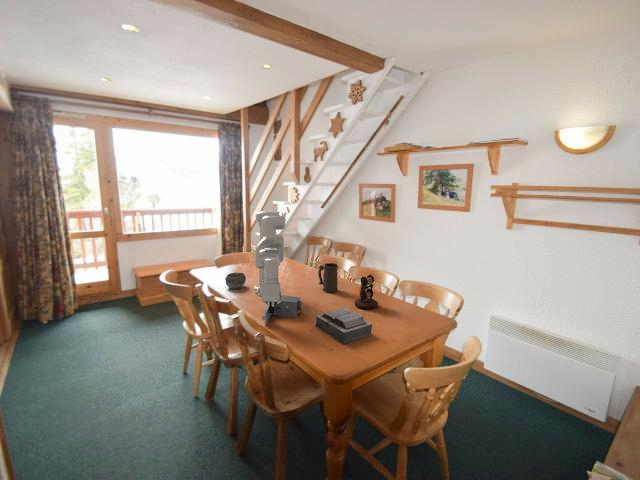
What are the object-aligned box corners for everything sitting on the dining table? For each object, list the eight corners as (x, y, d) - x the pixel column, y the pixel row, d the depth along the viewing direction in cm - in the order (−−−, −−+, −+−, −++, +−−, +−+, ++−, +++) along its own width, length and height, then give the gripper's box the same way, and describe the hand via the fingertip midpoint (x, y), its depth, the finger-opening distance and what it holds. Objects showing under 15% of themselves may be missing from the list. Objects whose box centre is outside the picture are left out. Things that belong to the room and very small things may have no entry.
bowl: (248, 285, 237) (248, 272, 236) (241, 291, 222) (241, 278, 220) (230, 284, 239) (230, 271, 237) (222, 290, 224) (222, 277, 222)
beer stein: (340, 289, 232) (339, 262, 229) (336, 293, 222) (335, 266, 219) (320, 288, 237) (319, 262, 234) (315, 292, 227) (314, 265, 224)
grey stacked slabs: (334, 347, 150) (335, 327, 148) (312, 324, 174) (312, 307, 172) (375, 338, 159) (376, 320, 158) (349, 317, 183) (349, 301, 182)
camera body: (269, 314, 184) (269, 299, 182) (274, 308, 193) (274, 293, 191) (299, 317, 181) (299, 301, 179) (303, 311, 190) (303, 296, 188)
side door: (267, 314, 184) (267, 302, 183) (271, 314, 184) (271, 302, 183) (262, 324, 170) (262, 311, 169) (266, 324, 170) (266, 311, 169)
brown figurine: (363, 300, 212) (365, 271, 208) (382, 306, 202) (384, 276, 198) (349, 305, 202) (351, 275, 198) (368, 312, 191) (370, 280, 188)
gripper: (255, 281, 169) (256, 314, 172) (282, 283, 167) (282, 316, 169) (260, 277, 176) (261, 309, 179) (286, 279, 174) (286, 311, 176)
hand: (271, 312), depth 174 cm, fingers closed
